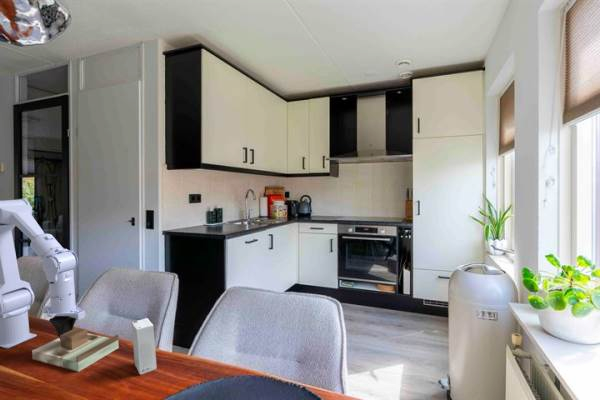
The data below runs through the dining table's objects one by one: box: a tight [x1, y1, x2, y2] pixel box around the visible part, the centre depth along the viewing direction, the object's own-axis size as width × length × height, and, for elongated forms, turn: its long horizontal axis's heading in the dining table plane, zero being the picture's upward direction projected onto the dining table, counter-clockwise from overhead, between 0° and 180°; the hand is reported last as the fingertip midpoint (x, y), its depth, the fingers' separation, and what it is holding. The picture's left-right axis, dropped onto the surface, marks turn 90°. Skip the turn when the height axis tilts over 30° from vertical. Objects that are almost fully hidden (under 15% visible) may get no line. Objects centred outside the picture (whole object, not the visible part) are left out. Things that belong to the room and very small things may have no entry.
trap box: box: [31, 332, 120, 372], centre depth 90 cm, size 18×12×4 cm, turn 71°
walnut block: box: [60, 327, 88, 350], centre depth 90 cm, size 4×4×4 cm
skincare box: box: [131, 317, 157, 375], centre depth 83 cm, size 6×4×12 cm
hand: (65, 339), depth 92 cm, fingers closed
